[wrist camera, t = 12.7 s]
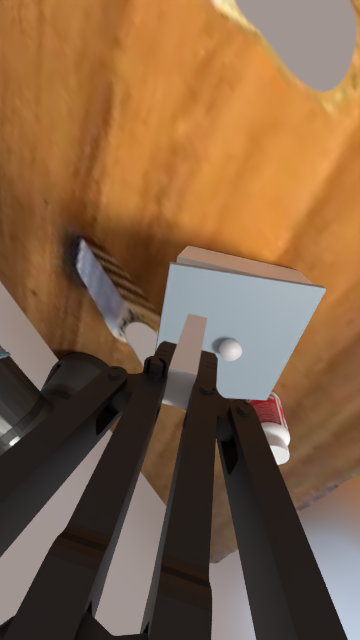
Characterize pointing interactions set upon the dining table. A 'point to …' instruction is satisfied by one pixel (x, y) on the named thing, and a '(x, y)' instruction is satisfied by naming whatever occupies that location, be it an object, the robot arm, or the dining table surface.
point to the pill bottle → (273, 425)
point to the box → (237, 264)
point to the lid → (239, 322)
